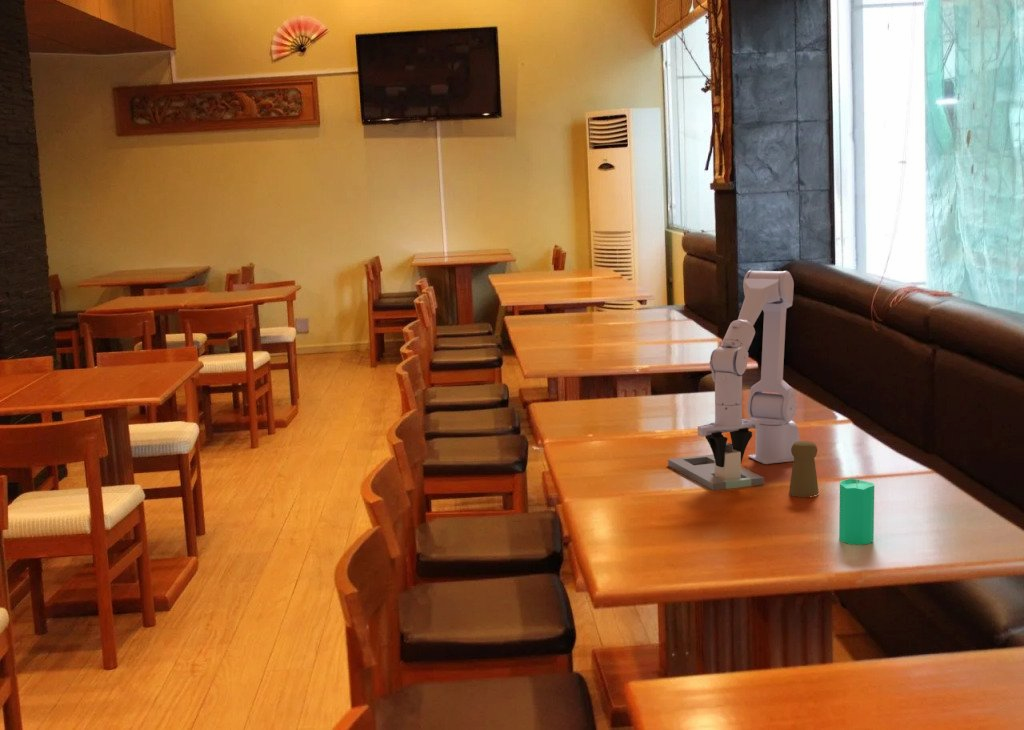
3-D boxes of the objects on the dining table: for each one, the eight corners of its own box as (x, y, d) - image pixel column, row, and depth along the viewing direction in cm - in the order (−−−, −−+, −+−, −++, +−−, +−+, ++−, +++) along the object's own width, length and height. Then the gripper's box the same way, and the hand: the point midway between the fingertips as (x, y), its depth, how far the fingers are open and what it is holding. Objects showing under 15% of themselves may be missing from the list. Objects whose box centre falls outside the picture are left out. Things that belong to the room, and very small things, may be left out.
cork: (819, 498, 234) (820, 445, 233) (789, 497, 236) (789, 445, 234) (818, 490, 240) (818, 438, 238) (788, 489, 241) (788, 438, 240)
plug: (729, 474, 251) (729, 441, 250) (740, 478, 248) (740, 445, 246) (714, 477, 250) (714, 443, 249) (725, 481, 246) (725, 447, 245)
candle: (834, 535, 210) (834, 471, 208) (865, 533, 211) (866, 470, 209) (846, 545, 204) (847, 480, 202) (879, 543, 205) (880, 478, 203)
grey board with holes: (715, 460, 268) (715, 454, 267) (763, 484, 246) (763, 477, 246) (668, 465, 264) (668, 459, 264) (712, 490, 243) (712, 483, 242)
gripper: (745, 396, 252) (745, 456, 254) (689, 403, 246) (690, 465, 249) (765, 401, 246) (765, 463, 248) (708, 409, 240) (708, 472, 242)
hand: (728, 464), depth 248 cm, fingers closed on plug, 4 cm apart
